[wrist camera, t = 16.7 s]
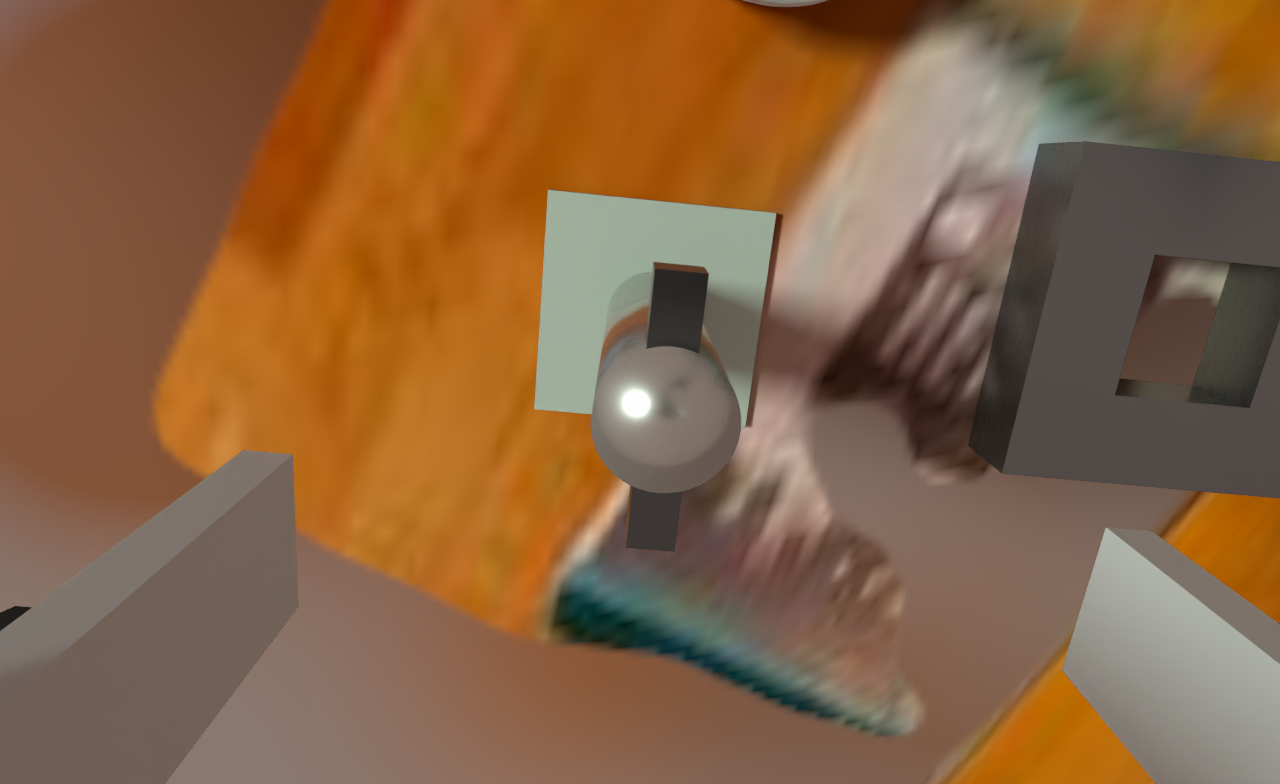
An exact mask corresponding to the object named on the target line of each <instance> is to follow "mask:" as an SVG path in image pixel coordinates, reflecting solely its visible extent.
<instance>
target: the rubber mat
mask: <svg viewBox="0 0 1280 784" xmlns="http://www.w3.org/2000/svg"><path fill="white" fill-rule="evenodd" d="M775 219H776V213H773V212H763V211H754V210H744V209H734V208H724V207H714V206H704V205H694V204H684V203H675V202H665V201H655V200H645V199H635V198H625V197H615V196H606V195H596V194H586V193H576V192H566V191H556V190H548V200H547V216H546V232H545V248H544V264H543V280H542V296H541V312H540V328H539V344H538V360H537V376H536V392H535V408H534V409H539V410H550V411H562V412H573V413H584V414H592V408H593V401H594V395H595V388H596V382H597V376H598V369H599V363H600V357H601V350H602V344H603V338H604V331H605V325H606V319H607V312H608V306H609V303H610V300H611V298H612V295H613V294H614V292H615V290H616V289H617V288H618V287H619V286H620V285H621V284H622V283H623V282H624V281H626V280H627V279H628V278H630V277H632V276H634V275H637V274H640V273H644V272H652V270H653V262H661V263H671V264H681V265H692V266H702V267H705V269H706V270H707V272H708V273H709V278H708V286H707V294H706V302H705V310H704V318H703V323H704V326H705V328H706V330H707V332H708V334H709V337H710V339H711V341H712V343H713V345H714V348H715V350H716V352H717V354H718V356H719V359H720V361H721V363H722V365H723V367H724V370H725V372H726V374H727V376H728V378H729V381H730V383H731V385H732V387H733V389H734V392H735V394H736V396H737V399H738V402H739V406H740V411H741V428H745V425H746V419H747V412H748V405H749V398H750V391H751V384H752V377H753V370H754V364H755V357H756V350H757V343H758V336H759V329H760V322H761V316H762V309H763V302H764V295H765V288H766V281H767V274H768V267H769V261H770V254H771V247H772V240H773V233H774V226H775Z"/></svg>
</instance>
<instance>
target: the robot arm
mask: <svg viewBox="0 0 1280 784" xmlns="http://www.w3.org/2000/svg"><path fill="white" fill-rule="evenodd" d="M296 556H297V555H296V528H295V501H294V474H293V455H292V454H281V453H269V452H258V451H247V450H243V451H242V452H240V453H239V454H238V455H236V456H235V457H234V458H232V459H231V460H230V461H228V462H227V463H226V464H224V465H223V466H222V467H220V468H219V469H218V470H216V471H215V472H214V473H212V474H211V475H209V476H208V477H207V478H205V479H204V480H203V481H201V482H200V483H199V484H197V485H196V486H195V487H194V488H192V489H191V490H189V491H188V492H187V493H185V494H184V495H183V496H181V497H180V498H179V499H177V500H176V501H175V502H173V503H172V504H171V505H169V506H168V507H166V508H165V509H164V510H163V511H161V512H160V513H158V514H157V515H156V516H154V517H153V518H152V519H150V520H149V521H148V522H146V523H145V524H144V525H142V526H141V527H140V528H138V529H137V530H136V531H135V532H133V533H132V534H130V535H129V536H128V537H126V538H125V539H123V540H122V541H121V542H119V543H118V544H117V545H115V546H114V547H113V548H111V549H110V550H109V551H107V552H106V553H105V554H103V555H102V556H101V557H99V558H98V559H97V560H95V561H94V562H93V563H91V564H90V565H89V566H87V567H86V568H84V569H83V570H82V571H80V572H79V573H78V574H76V575H75V576H74V577H73V578H71V579H70V580H68V581H67V582H66V583H64V584H63V585H62V586H60V587H59V588H58V589H56V590H55V591H54V592H52V593H51V594H50V595H48V596H47V597H46V598H44V599H43V600H42V601H40V602H39V603H37V604H36V605H35V606H34V607H20V606H14V607H12V608H10V609H8V610H6V611H3V612H1V613H0V784H165V783H166V782H167V781H168V779H169V778H170V776H171V775H172V774H173V773H174V771H175V770H176V769H177V767H178V766H179V765H180V763H181V762H182V761H183V759H184V758H185V757H186V755H187V754H188V753H189V751H190V750H191V749H192V747H193V746H194V744H195V743H196V742H197V741H198V739H199V738H200V737H201V735H202V734H203V733H204V731H205V730H206V729H207V727H208V726H209V725H210V723H211V722H212V721H213V719H214V718H215V717H216V716H217V714H218V713H219V712H220V710H221V709H222V707H223V706H224V705H225V703H226V702H227V701H228V700H229V698H230V697H231V696H232V694H233V693H234V691H235V690H236V689H237V688H238V686H239V685H240V684H241V682H242V681H243V680H244V678H245V677H246V676H247V674H248V673H249V672H250V670H251V669H252V668H253V666H254V665H255V664H256V662H257V661H258V660H259V658H260V657H261V656H262V654H263V653H264V652H265V651H266V649H267V648H268V647H269V645H270V644H271V643H272V641H273V640H274V639H275V637H276V636H277V635H278V633H279V632H280V631H281V629H282V628H283V627H284V625H285V624H286V623H287V621H288V620H289V618H290V617H291V616H292V615H293V613H294V612H295V611H296V609H297V608H298V583H297V557H296ZM1062 671H1063V672H1064V673H1065V674H1066V676H1067V677H1068V678H1069V679H1070V680H1071V682H1072V683H1073V684H1074V685H1075V686H1076V688H1077V689H1078V690H1079V691H1080V692H1081V694H1082V695H1083V696H1084V697H1085V698H1086V700H1087V701H1088V702H1089V703H1090V704H1091V706H1092V707H1093V708H1094V709H1095V711H1096V712H1097V713H1098V714H1099V715H1100V717H1101V718H1102V719H1103V720H1104V721H1105V723H1106V724H1107V725H1108V726H1109V727H1110V729H1111V730H1112V731H1113V732H1114V733H1115V735H1116V736H1117V737H1118V738H1119V739H1120V741H1121V742H1122V743H1123V744H1124V745H1125V747H1126V748H1127V749H1128V750H1129V752H1130V753H1131V754H1132V755H1133V756H1134V758H1135V759H1136V760H1137V761H1138V762H1139V764H1140V765H1141V766H1142V767H1143V768H1144V770H1145V771H1146V772H1147V773H1148V774H1149V776H1150V777H1151V778H1152V779H1153V780H1154V782H1155V783H1156V784H1280V624H1279V623H1277V622H1276V621H1274V620H1273V619H1272V618H1270V617H1269V616H1268V615H1266V614H1265V613H1263V612H1262V611H1261V610H1259V609H1258V608H1257V607H1255V606H1254V605H1252V604H1251V603H1250V602H1248V601H1247V600H1246V599H1244V598H1243V597H1241V596H1240V595H1239V594H1237V593H1236V592H1235V591H1233V590H1232V589H1230V588H1229V587H1228V586H1226V585H1225V584H1224V583H1222V582H1221V581H1219V580H1218V579H1217V578H1215V577H1214V576H1213V575H1211V574H1210V573H1208V572H1207V571H1206V570H1204V569H1203V568H1202V567H1200V566H1199V565H1197V564H1196V563H1195V562H1193V561H1192V560H1191V559H1189V558H1188V557H1186V556H1185V555H1184V554H1182V553H1181V552H1180V551H1178V550H1177V549H1175V548H1174V547H1173V546H1171V545H1170V544H1169V543H1167V542H1166V541H1164V540H1163V539H1162V538H1160V537H1159V536H1158V535H1156V534H1155V533H1153V532H1152V531H1141V530H1131V529H1120V528H1109V527H1106V529H1105V532H1104V535H1103V539H1102V542H1101V545H1100V548H1099V552H1098V555H1097V558H1096V562H1095V565H1094V568H1093V571H1092V575H1091V578H1090V581H1089V584H1088V588H1087V591H1086V594H1085V597H1084V600H1083V604H1082V607H1081V610H1080V613H1079V617H1078V620H1077V623H1076V626H1075V630H1074V633H1073V636H1072V639H1071V643H1070V646H1069V649H1068V652H1067V656H1066V659H1065V662H1064V665H1063V669H1062Z"/></svg>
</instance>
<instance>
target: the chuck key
mask: <svg viewBox="0 0 1280 784" xmlns="http://www.w3.org/2000/svg"><path fill="white" fill-rule="evenodd" d="M708 278H709V273H708V272H707V270H706V269H705V267H702V266H692V265H681V264H671V263H661V262H653V270H652V272H644V273H640V274H637V275H634V276H632V277H630V278H628V279H627V280H626V281H624V282H623V283H622V284H621V285H620V286H619V287H618V288H617V289H616V290H615V292H614V294H613V295H612V298H611V300H610V303H609V306H608V312H607V319H606V325H605V331H604V338H603V344H602V350H601V357H600V363H599V369H598V376H597V382H596V388H595V395H594V401H593V408H592V414H591V432H592V438H593V441H594V445H595V447H596V450H597V452H598V454H599V456H600V458H601V459H602V461H603V462H604V464H605V465H606V466H607V467H608V469H609V470H610V471H611V472H612V473H613V474H614V475H616V476H617V477H618V478H620V479H621V480H622V481H624V482H626V483H627V484H629V485H630V494H629V504H628V514H627V523H626V548H637V549H649V550H661V551H673V552H675V544H676V536H677V528H678V520H679V512H680V503H681V495H682V491H685V490H689V489H692V488H694V487H697V486H699V485H701V484H703V483H705V482H706V481H708V480H709V479H711V478H712V477H714V476H715V475H716V474H717V473H718V472H719V471H720V470H721V469H722V468H723V467H724V466H725V465H726V463H727V462H728V461H729V459H730V458H731V456H732V454H733V452H734V450H735V448H736V446H737V443H738V440H739V436H740V431H741V411H740V406H739V402H738V399H737V396H736V394H735V392H734V389H733V387H732V385H731V383H730V381H729V378H728V376H727V374H726V372H725V370H724V367H723V365H722V363H721V361H720V359H719V356H718V354H717V352H716V350H715V348H714V345H713V343H712V341H711V339H710V337H709V334H708V332H707V330H706V328H705V326H704V323H703V318H704V310H705V302H706V294H707V286H708Z"/></svg>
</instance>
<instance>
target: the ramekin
mask: <svg viewBox="0 0 1280 784" xmlns="http://www.w3.org/2000/svg"><path fill="white" fill-rule="evenodd" d="M742 1H746V2H751V3H755V4H760V5H765V6H773V7H799V6H807V5H813V4H818V3H821V2H825V1H828V0H742Z"/></svg>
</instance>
